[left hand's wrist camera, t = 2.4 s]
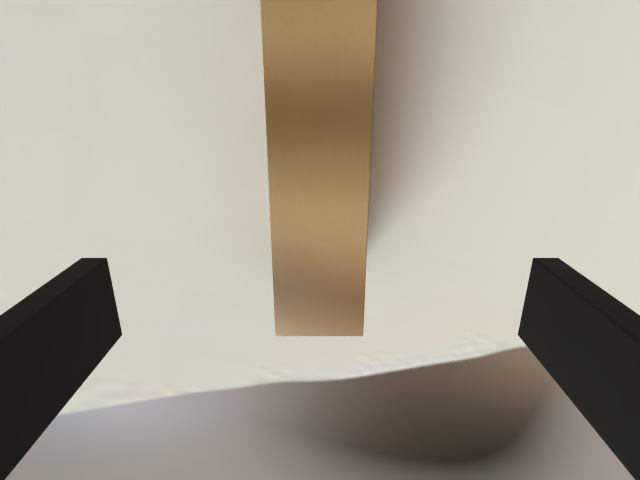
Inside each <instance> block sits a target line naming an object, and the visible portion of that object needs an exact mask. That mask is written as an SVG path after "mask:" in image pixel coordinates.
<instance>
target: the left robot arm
mask: <svg viewBox="0 0 640 480" xmlns="http://www.w3.org/2000/svg"><path fill="white" fill-rule="evenodd" d="M121 335H122V332H121V327H120V322H119V317H118V312H117V307H116V302H115V297H114V292H113V287H112V282H111V277H110V272H109V267H108V262H107V258H81V259H80V260H78V261H77V262H76V263H74V264H73V265H71V266H70V267H68V268H67V269H66V270H64V271H63V272H61V273H60V274H59V275H57V276H56V277H54V278H53V279H51V280H50V281H49V282H47V283H46V284H44V285H43V286H42V287H40V288H39V289H37V290H36V291H34V292H33V293H32V294H30V295H29V296H27V297H26V298H24V299H23V300H22V301H20V302H19V303H17V304H16V305H15V306H13V307H12V308H10V309H9V310H7V311H6V312H5V313H3V314H2V315H0V480H5V479H6V477H7V476H8V475H9V474H10V473H11V471H12V470H13V469H14V468H15V466H16V465H17V464H18V463H19V461H20V460H21V459H22V458H23V456H24V455H25V454H26V453H27V452H28V450H29V449H30V448H31V447H32V445H33V444H34V443H35V442H36V440H37V439H38V438H39V437H40V435H41V434H42V433H43V432H44V431H45V429H46V428H47V427H48V426H49V424H50V423H51V422H52V421H53V419H54V418H55V417H56V416H57V414H58V413H59V412H60V411H61V410H62V408H63V407H64V406H65V405H66V403H67V402H68V401H69V400H70V398H71V397H72V396H73V395H74V393H75V392H76V391H77V390H78V389H79V387H80V386H81V385H82V384H83V382H84V381H85V380H86V379H87V377H88V376H89V375H90V374H91V372H92V371H93V370H94V369H95V368H96V366H97V365H98V364H99V363H100V361H101V360H102V359H103V358H104V356H105V355H106V354H107V353H108V351H109V350H110V349H111V348H112V347H113V345H114V344H115V343H116V342H117V340H118V339H119V338H120V337H121ZM518 335H519V337H520V338H521V339H522V340H523V342H524V343H525V344H526V345H527V347H528V348H529V349H530V350H531V351H532V353H533V354H534V355H535V356H536V358H537V359H538V360H539V361H540V363H541V364H542V365H543V366H544V368H545V369H546V370H547V371H548V372H549V374H550V375H551V376H552V377H553V379H554V380H555V381H556V382H557V384H558V385H559V386H560V387H561V389H562V390H563V391H564V392H565V393H566V395H567V396H568V397H569V398H570V400H571V401H572V402H573V403H574V405H575V406H576V407H577V408H578V409H579V411H580V412H581V413H582V414H583V416H584V417H585V418H586V419H587V421H588V422H589V423H590V424H591V426H592V427H593V428H594V429H595V431H596V432H597V433H598V434H599V435H600V437H601V438H602V439H603V440H604V442H605V443H606V444H607V445H608V447H609V448H610V449H611V450H612V452H613V453H614V454H615V455H616V456H617V458H618V459H619V460H620V461H621V463H622V464H623V465H624V466H625V468H626V469H627V470H628V471H629V473H630V474H631V475H632V476H633V477H634V479H635V480H640V315H638V314H637V313H635V312H634V311H633V310H631V309H630V308H628V307H627V306H625V305H624V304H623V303H621V302H620V301H618V300H617V299H616V298H614V297H613V296H611V295H610V294H608V293H607V292H606V291H604V290H603V289H601V288H600V287H598V286H597V285H596V284H594V283H593V282H591V281H590V280H589V279H587V278H586V277H584V276H583V275H581V274H580V273H579V272H577V271H576V270H574V269H573V268H572V267H570V266H569V265H567V264H566V263H564V262H563V261H562V260H560V259H559V258H533V262H532V267H531V272H530V277H529V282H528V287H527V292H526V297H525V302H524V307H523V312H522V317H521V322H520V327H519V332H518Z"/></svg>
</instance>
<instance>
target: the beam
mask: <svg viewBox="0 0 640 480" xmlns="http://www.w3.org/2000/svg"><path fill="white" fill-rule="evenodd" d="M377 2H378V0H261V20H262V43H263V65H264V87H265V109H266V132H267V154H268V176H269V198H270V221H271V243H272V265H273V287H274V310H275V332H276V336H363V324H364V301H365V278H366V255H367V232H368V209H369V186H370V163H371V140H372V117H373V94H374V71H375V48H376V25H377Z"/></svg>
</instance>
